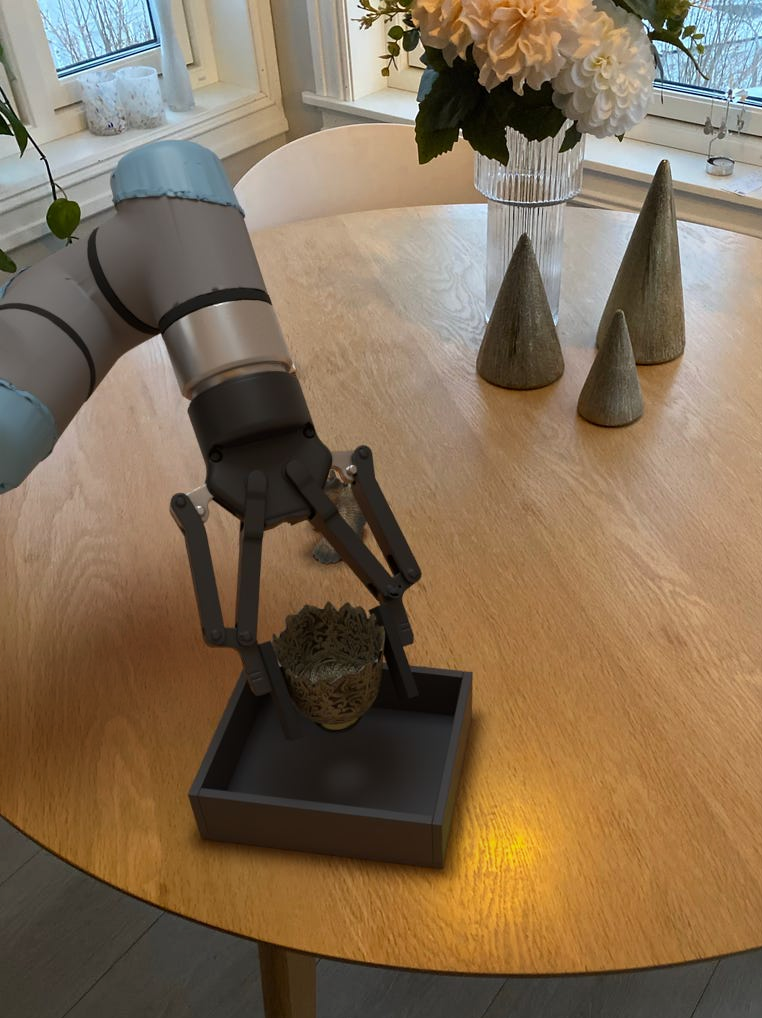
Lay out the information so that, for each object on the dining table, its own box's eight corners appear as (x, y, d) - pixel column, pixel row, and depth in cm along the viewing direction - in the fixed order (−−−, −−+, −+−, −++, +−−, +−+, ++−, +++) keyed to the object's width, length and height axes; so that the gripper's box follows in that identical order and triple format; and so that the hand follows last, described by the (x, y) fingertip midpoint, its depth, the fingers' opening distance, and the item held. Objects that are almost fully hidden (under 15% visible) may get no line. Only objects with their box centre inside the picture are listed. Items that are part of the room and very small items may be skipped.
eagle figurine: (291, 494, 99) (268, 534, 91) (327, 439, 95) (305, 476, 88) (356, 535, 101) (338, 578, 93) (393, 483, 97) (378, 523, 90)
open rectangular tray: (200, 839, 70) (187, 794, 67) (260, 693, 81) (251, 647, 77) (443, 869, 69) (442, 825, 65) (472, 716, 79) (472, 671, 76)
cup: (322, 668, 74) (311, 586, 69) (409, 701, 72) (404, 619, 66) (264, 736, 69) (247, 654, 64) (355, 773, 67) (345, 691, 61)
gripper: (371, 373, 72) (471, 671, 73) (84, 440, 65) (198, 769, 66) (397, 335, 65) (507, 665, 66) (79, 406, 58) (206, 774, 59)
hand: (352, 717), depth 66 cm, fingers closed on cup, 7 cm apart
